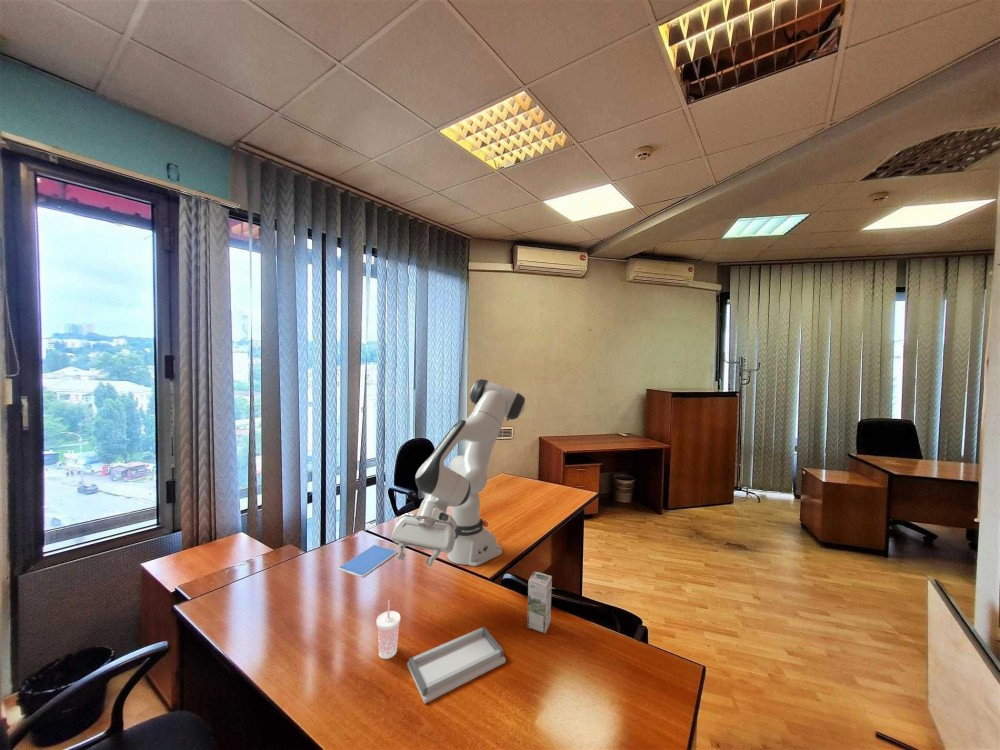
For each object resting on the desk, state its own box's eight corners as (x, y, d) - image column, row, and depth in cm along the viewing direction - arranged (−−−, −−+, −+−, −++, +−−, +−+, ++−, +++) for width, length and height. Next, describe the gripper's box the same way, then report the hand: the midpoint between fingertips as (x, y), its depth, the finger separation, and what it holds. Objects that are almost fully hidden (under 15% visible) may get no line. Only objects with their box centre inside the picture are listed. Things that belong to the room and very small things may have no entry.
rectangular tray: (482, 632, 103) (482, 624, 103) (505, 662, 93) (505, 652, 93) (407, 665, 91) (407, 656, 91) (424, 703, 81) (424, 693, 81)
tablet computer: (362, 579, 127) (362, 576, 127) (336, 570, 132) (336, 567, 132) (398, 554, 145) (398, 550, 145) (374, 547, 150) (374, 544, 150)
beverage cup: (398, 659, 93) (399, 606, 92) (373, 662, 92) (374, 608, 91) (400, 641, 99) (401, 591, 98) (377, 644, 98) (378, 593, 97)
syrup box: (551, 622, 108) (552, 574, 108) (545, 635, 103) (546, 585, 102) (533, 616, 110) (534, 569, 110) (526, 628, 105) (527, 579, 105)
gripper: (398, 508, 116) (379, 552, 107) (456, 517, 110) (441, 565, 101) (405, 516, 121) (387, 559, 111) (461, 525, 115) (447, 572, 106)
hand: (413, 562), depth 106 cm, fingers open, 8 cm apart
